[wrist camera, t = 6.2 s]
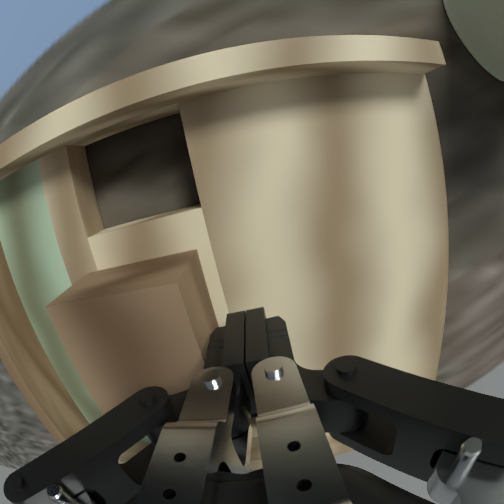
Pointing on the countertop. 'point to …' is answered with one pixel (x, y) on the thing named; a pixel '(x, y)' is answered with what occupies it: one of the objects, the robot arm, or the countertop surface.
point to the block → (137, 326)
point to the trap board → (246, 208)
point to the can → (480, 31)
